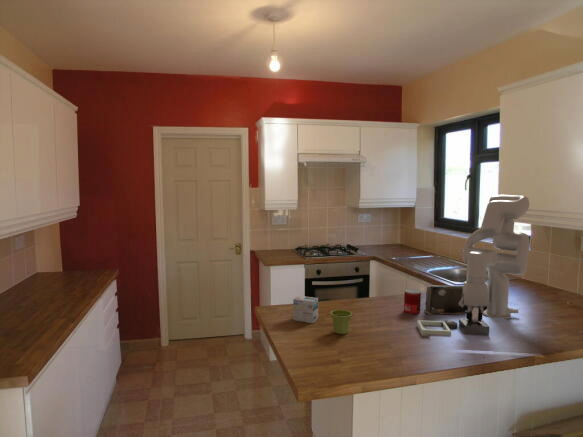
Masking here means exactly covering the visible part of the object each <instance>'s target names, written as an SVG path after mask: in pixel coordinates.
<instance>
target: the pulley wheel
mask: <svg viewBox="0 0 583 437" xmlns="http://www.w3.org/2000/svg"><path fill="white" fill-rule="evenodd" d="M443 321H444V322H445V323H446V325H447V326H448V327H449V329H450V330H455V329H457V328H458V327H459V323H458V322H456V321H453V320H446V319H445V320H443ZM440 327H442V328H443V323H441V326H440Z"/></svg>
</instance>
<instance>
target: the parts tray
mask: <svg viewBox="0 0 583 437" xmlns="http://www.w3.org/2000/svg"><path fill="white" fill-rule="evenodd" d="M441 323H443V327H442V326H441ZM416 326H417V328H418V331H419V333H420V334H421V336H422V337H431V335H440V336H442V335H443V336H452V331H451V330H452V329H449V327H448V326H447V325H446V323H445V322H444V320H439V321H438V320H424V319H423V320H420V319H417V320H416ZM426 326H440V327H442V328H443V329H430V328H429V329H427V327H426Z"/></svg>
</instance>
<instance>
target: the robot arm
mask: <svg viewBox="0 0 583 437" xmlns="http://www.w3.org/2000/svg"><path fill="white" fill-rule="evenodd" d="M529 207H530V200H529V198H528V197H527V196H525V195H517V194H516V195H513V194H512V195H511V194H496V195H493V196H490V197H489V200H488V203H487V205H486V209H485V212H484V215H483V218H482V222H481V226H480V227H479V228H478V229H476V230H474V231H473V232H472V233H471V234H470V235H469V236H468V237H467V239H466V241H465V244H464V247H463V250H462V258H461V259H462V261H463V262H464V263H466V280H465V281H464V283H463V285H462V286H463V291H462V299H461V300H460V302H459V303H458V304H459V306H461V307H463V308H464V309H465V310H466V313H465V319H468V321H471V311H470V310H471V306H479V322H481V319H482V320H483V316H485V317H486V318H487V317H488V318H497V319H498V318H499V319H504V320H508V319H511V317H512V314H519V309H516V308H512V307H509V295H510V294H509V292H510V281H509V278H508V276H507V275H506V274H509V275H517V276H523V275H524V274H525V273H527V269H528V264H529V263H528V261H529V253H530V245H531V244H530V237H529V235H528V234H527V233H524V232H517V231H514V230H515V220H518V219H520V218H521V217H523V216H524V214H526V213H527V212H528V210H529ZM490 238H492V246H493V248H494V249H496V250H500V251H505V252H507V251H508V252H513V253H516V254H511V253H505V252H496V251H494V250H492V249H486V248H479V247H475V246H476V244H478V243H479V242H481V241H483V240H486V239H490ZM463 303H464V304H465V305H466V306H465V305H464V304H463Z"/></svg>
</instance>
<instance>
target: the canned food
mask: <svg viewBox="0 0 583 437" xmlns="http://www.w3.org/2000/svg"><path fill="white" fill-rule="evenodd" d="M403 298H404V300H403V309H404V310H403V311H404V312H405V313H406V314H410V315H417V314H420V313H421V301H422V300H421V299H422V291H421V290H419V289H416V288H406V289H405V290H404V297H403Z"/></svg>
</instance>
